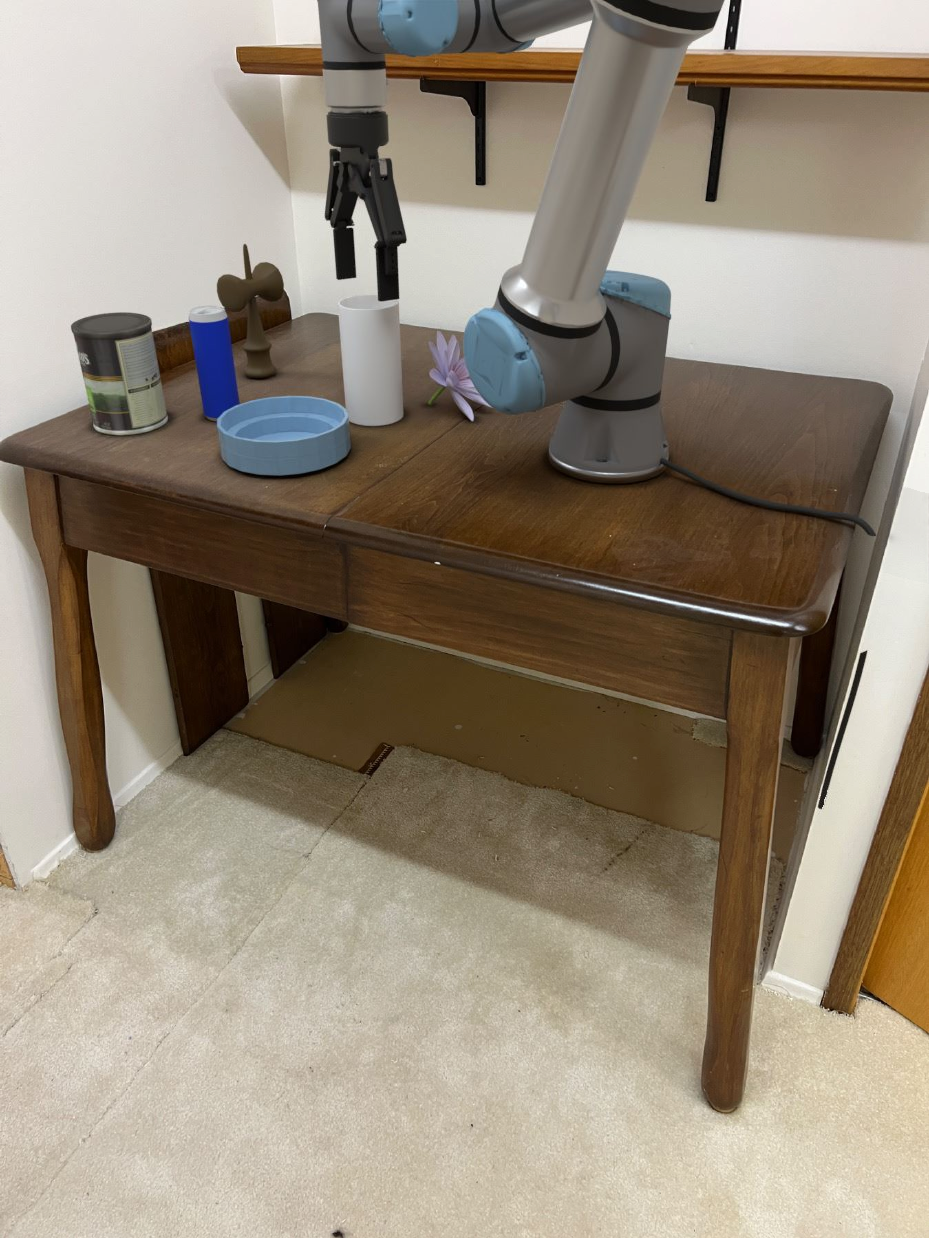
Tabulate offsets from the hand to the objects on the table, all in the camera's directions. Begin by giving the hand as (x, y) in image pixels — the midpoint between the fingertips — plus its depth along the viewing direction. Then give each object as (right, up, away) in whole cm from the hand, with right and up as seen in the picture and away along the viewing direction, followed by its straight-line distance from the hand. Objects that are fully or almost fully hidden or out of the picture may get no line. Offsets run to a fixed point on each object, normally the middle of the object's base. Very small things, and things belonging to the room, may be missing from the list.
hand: (366, 289), depth 126 cm
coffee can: (-34, -17, +7) cm, 39 cm away
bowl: (-10, -23, -3) cm, 25 cm away
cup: (0, -15, +9) cm, 18 cm away
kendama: (-20, -5, +25) cm, 32 cm away
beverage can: (-22, -15, +9) cm, 28 cm away
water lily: (+13, -14, +11) cm, 22 cm away
